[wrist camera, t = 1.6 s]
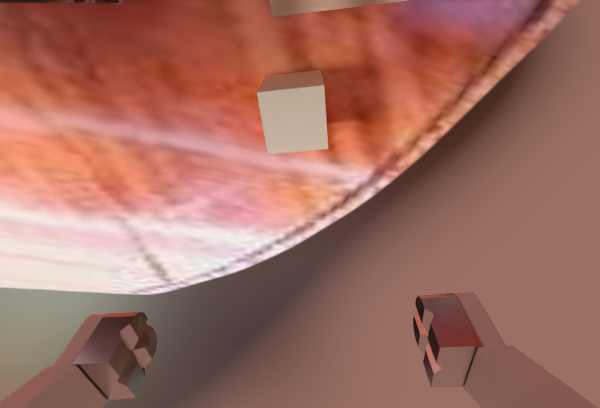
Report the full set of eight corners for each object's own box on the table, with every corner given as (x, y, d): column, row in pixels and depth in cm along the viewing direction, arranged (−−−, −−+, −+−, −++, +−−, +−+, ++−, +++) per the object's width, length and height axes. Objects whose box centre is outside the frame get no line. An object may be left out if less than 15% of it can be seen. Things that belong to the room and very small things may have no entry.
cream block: (273, 129, 31) (267, 154, 26) (265, 75, 28) (256, 92, 23) (324, 124, 31) (328, 148, 26) (320, 69, 28) (324, 85, 23)
